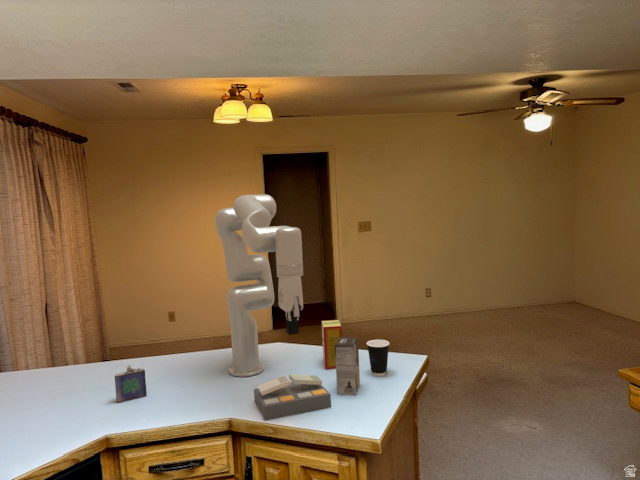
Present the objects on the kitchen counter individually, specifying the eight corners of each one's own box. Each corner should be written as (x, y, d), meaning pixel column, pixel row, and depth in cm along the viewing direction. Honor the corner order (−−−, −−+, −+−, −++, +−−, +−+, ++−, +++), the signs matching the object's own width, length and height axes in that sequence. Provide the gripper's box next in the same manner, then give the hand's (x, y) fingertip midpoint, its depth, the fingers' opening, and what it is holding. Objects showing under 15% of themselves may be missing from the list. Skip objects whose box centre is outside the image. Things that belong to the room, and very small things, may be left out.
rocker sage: (289, 378, 145) (289, 374, 145) (316, 379, 149) (316, 375, 149) (293, 383, 141) (294, 379, 141) (321, 384, 144) (322, 380, 144)
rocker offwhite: (258, 389, 142) (257, 385, 142) (286, 378, 145) (285, 374, 145) (262, 395, 138) (261, 391, 137) (290, 384, 140) (289, 380, 140)
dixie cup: (390, 369, 168) (389, 339, 167) (390, 378, 160) (389, 346, 159) (368, 369, 169) (367, 339, 168) (366, 377, 161) (365, 346, 161)
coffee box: (341, 383, 157) (339, 336, 156) (360, 384, 156) (358, 336, 155) (336, 394, 148) (334, 344, 147) (356, 395, 147) (354, 345, 146)
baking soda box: (343, 368, 171) (341, 325, 170) (325, 369, 171) (323, 326, 170) (340, 359, 181) (338, 318, 180) (323, 360, 180) (321, 319, 179)
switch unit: (254, 401, 146) (253, 384, 145) (315, 390, 152) (314, 374, 152) (265, 420, 133) (264, 402, 132) (331, 407, 139) (330, 389, 139)
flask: (116, 403, 149) (114, 370, 148) (115, 400, 151) (113, 368, 150) (147, 396, 153) (145, 364, 153) (145, 393, 156) (143, 362, 155)
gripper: (270, 268, 140) (273, 329, 142) (284, 275, 126) (287, 342, 128) (294, 266, 143) (297, 326, 144) (310, 272, 129) (313, 338, 130)
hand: (293, 333), depth 136 cm, fingers closed
